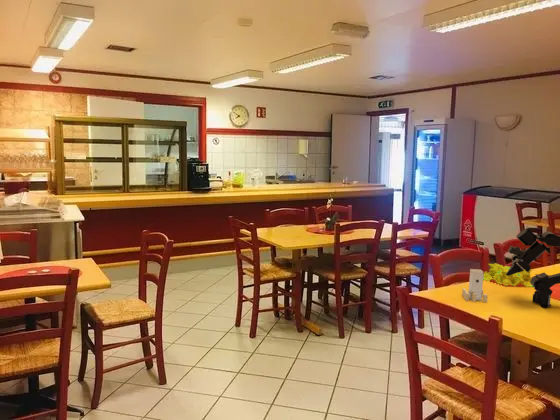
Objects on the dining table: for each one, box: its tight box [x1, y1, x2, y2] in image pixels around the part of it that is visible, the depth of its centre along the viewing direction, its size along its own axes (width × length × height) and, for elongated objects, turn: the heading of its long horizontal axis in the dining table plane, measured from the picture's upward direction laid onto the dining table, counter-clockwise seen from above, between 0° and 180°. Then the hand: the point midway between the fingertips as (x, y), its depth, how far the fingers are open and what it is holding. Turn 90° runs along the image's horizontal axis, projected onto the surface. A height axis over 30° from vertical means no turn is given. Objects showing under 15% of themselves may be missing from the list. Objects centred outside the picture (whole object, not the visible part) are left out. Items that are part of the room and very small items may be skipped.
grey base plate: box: [461, 287, 488, 304], centre depth 225 cm, size 17×12×4 cm
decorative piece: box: [483, 263, 534, 288], centre depth 263 cm, size 26×8×30 cm
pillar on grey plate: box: [468, 268, 484, 302], centre depth 225 cm, size 5×5×14 cm
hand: (506, 274), depth 222 cm, fingers closed
